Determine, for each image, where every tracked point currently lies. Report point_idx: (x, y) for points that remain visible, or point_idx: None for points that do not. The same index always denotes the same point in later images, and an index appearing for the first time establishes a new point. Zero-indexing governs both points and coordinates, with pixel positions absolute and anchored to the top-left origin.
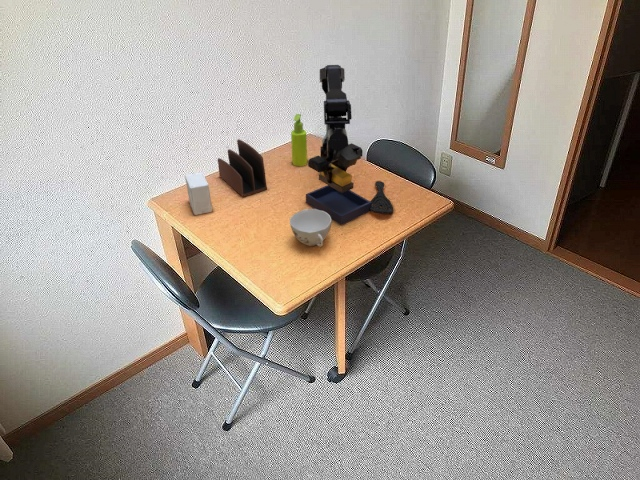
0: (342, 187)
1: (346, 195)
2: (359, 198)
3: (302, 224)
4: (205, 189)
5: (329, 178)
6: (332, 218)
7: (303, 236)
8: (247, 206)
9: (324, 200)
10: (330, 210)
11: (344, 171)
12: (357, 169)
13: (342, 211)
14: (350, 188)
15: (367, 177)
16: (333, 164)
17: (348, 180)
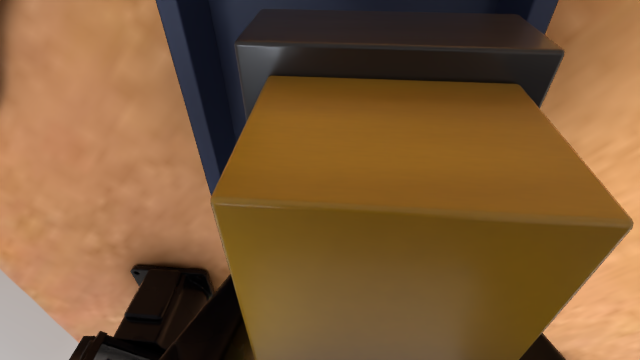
0: (543, 59)
1: (228, 131)
2: (184, 3)
3: None
4: None
5: (543, 335)
6: None
7: None
8: (617, 322)
9: None
10: (548, 17)
11: (267, 350)
12: (52, 253)
13: (381, 1)
14: (324, 15)
15: (21, 191)
16: (159, 335)
17: (346, 120)
